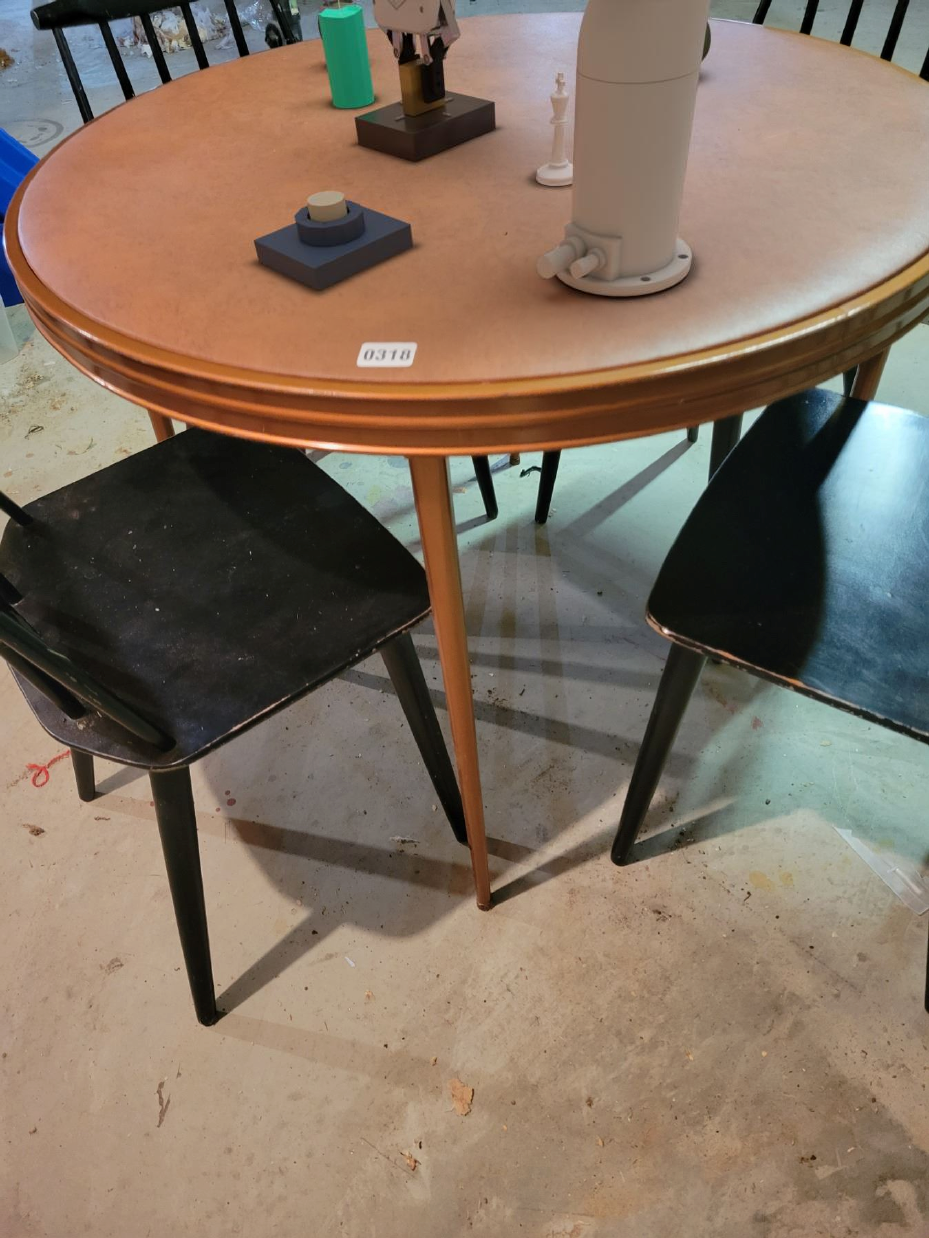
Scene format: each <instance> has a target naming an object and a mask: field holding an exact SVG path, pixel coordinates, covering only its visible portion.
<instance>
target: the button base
mask: <svg viewBox="0 0 929 1238" xmlns="http://www.w3.org/2000/svg"><path fill="white" fill-rule="evenodd" d="M345 203H346V208H347V214H348V215H347V216H346V217H344V218H341V219H339V220H336V221H330V222H314V221H312V220H311V219H310V214H309V209H308V205H306V206H303V207H301V208H300V209H299V210H298V211H297V212H296V213H295V214H294V216H293V217H294V221H295V222H293V223H292V224H288V225H287V226H284V227H282V228H280V229H277V230H275V231H272V232H270V233H267V234H265V235H263V236H260V237H258V238H255V239H253V244H254V248H255V252H256V255H257V259H258V263H259V264H261V265H263V266H266V267H268V268H270V269H272V270H275V271H276V272H279V273H281V274H282V275H284V276H286V277H288V278H291V279H292V280H295V281H297V282H299V283H301V284H303V285H305V286H307V287H309V288H311V289H313V290H315V291H317V292H320V291H322V290H324V289H326V288H329V287H331V286H333V285H335V284H337V283H339V282H342V281H343V280H346V279H348V278H350V277H352V276H354V275H356V274H358V273H360V272H362V271H364V270H366V269H368V268H371V267H372V266H375V265H378V264H379V263H382V262H384V261H386V260H387V259H390V258H392V257H394V256H396V255H398V254H400V253H403V252H405V251H406V250H409V249H410V248H413V247H414V242H413V232H412V225H411V223H409V222H406V221H404V220H400V219H397V218H396V217H393V216H391V215H387V214H385V213H382V212H379V211H377V210H374V209H371V208H369V207H366V206H363V205H361V204H360V203H358V202H355V201H352V200H350V199H345Z"/></svg>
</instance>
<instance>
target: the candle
mask: <svg viewBox="0 0 929 1238" xmlns="http://www.w3.org/2000/svg"><path fill="white" fill-rule="evenodd" d="M338 4H339V9H338V10H336V9H326V10H324V11H323V12H322V13H321V14H320V13H319V12H318V13H319V14H318V13H317V18H318V17H319V23H320V29H321V35H322V39H321V41H323V42H322V46H323V52H324V57H325V64H326V70H327V76H328V81H329V88H330V93H331V99H332V105H333V106H334V107H336V108H337V109H338V108H339V109H359V108H363V107H367V106H368V105H370V104H372V103H374V102H375V93H374V86H373V79H372V73H371V63H370V56H369V49H368V41H367V33H366V26H365V18H364V11H363V7H361V6H360V5H358V4H357V5H350V6H346V7H343V8H340V3H339V0H338Z"/></svg>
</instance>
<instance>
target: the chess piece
mask: <svg viewBox="0 0 929 1238" xmlns="http://www.w3.org/2000/svg"><path fill="white" fill-rule="evenodd" d="M554 80H555V81H554V83H555V84H556V85H557V86H556V87H557V90H556V91H553V92H552V93H551V94H550V96H549V97H550V98H549V99H550V102H551V105H552V110H553V113H554V116H552V117H550V119H549V122H548V123H549V125H551V126H554V131H553V141H552V146H551V147H552V148H551V155H550V159H549V160H548V161H547V163H546V164H543V165H542V166H540V167H539V168H538V169H537V171H536V176H535V180H536V182H538V183H539V184H541V185H544V186H547V187H562V186H564V187H565V186H569V185H572V174H573V163H571V162H570V161H569V159H568V158H567V153H566V143H565V142H566V141H565V128H564V126H565V125H568V124H569V123H570V119H569V117H568V116H566V115H565V113H566V110H567V106H568V102H569V101H570V93H569V92H568V91H565V90H564V88H565V87H566V81H565V80H564V72H563V71H558V72H557V77H555V79H554Z"/></svg>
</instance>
